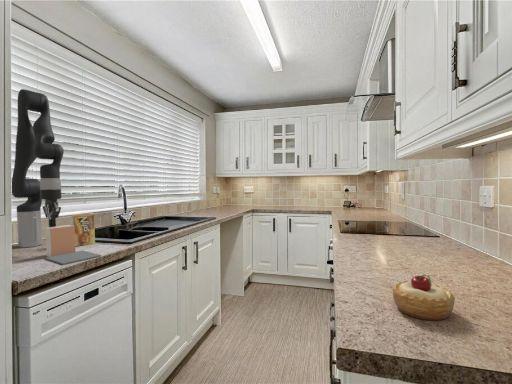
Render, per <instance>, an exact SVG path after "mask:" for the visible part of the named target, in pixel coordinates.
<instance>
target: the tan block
mask: <svg viewBox="0 0 512 384" xmlns="http://www.w3.org/2000/svg"><path fill="white" fill-rule="evenodd" d="M45 243H46V244H45V245H46V257H51V256H56V255H61V254H66V253H71V252H76V246H75V226H73V224H66V225H65V224H64V225H59V226H57V225H56V227H49V226H48V227H45Z"/></svg>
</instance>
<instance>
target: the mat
mask: <svg viewBox="0 0 512 384" xmlns="http://www.w3.org/2000/svg"><path fill="white" fill-rule="evenodd" d="M100 257H102V254H99V253H95V252H90V251H86V250H77V251H76V252H71V253H66V254H61V255H56V256H51V257H48V256H46V257H45V258H44V259H45V260H46V261H50V262H53V263H57V264H58V265H59V264H60V265H62V266H65V265H69V264H73V263H80V262H82V261H87V260H91V259H96V258H100Z"/></svg>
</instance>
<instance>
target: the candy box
mask: <svg viewBox="0 0 512 384" xmlns="http://www.w3.org/2000/svg"><path fill="white" fill-rule="evenodd" d="M72 225H73V226H75V247H79V246H86V245H88V246H89V245H95V244H96V236H95V235H96V234H95V233H96V232H95V213H92V212H91V213H79V214H77V213H76V214H72Z"/></svg>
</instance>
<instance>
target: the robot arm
mask: <svg viewBox="0 0 512 384" xmlns="http://www.w3.org/2000/svg"><path fill="white" fill-rule="evenodd" d="M29 111H30V112H35V113H40V115H39V117H37V119H36V120H35V121H34V123H31V119H30V117H29ZM32 124H33V125H32ZM55 140H56V139H55V135H54V131H53V128H52V122H51V111H50V102H49V98H48V96H46V94H43V93H41V92H36V91H34V90H33V91H32V90H29V89H26V88H22V89H20V90H19V92H18V93H17V128H16V138H15V153H14V154H15V155H14V164H13V165H14V167H13V171H12V172H13V173H12V178H11V182H12V192H11V195H12V196H13V197H14V198H17V199H21V198H22V199H24V198H25V199H26V198H27V200H26V201H25V202H23V203H21V204H19V205H17V206H16V222H17V223H16V224H17V242H18V243H17V246H18V248H30V247H31V248H32V247H37V246H41V245H43V238H42V237H43V234H42V231H43V230H42V215H41V214H42V213H41V212H42V211H43V213H44V216H45V218H47V220H48V227H57V220H56V219H58V218H59V216H60V214H61V209H62V208H61V206H59V201H58V200H61V199H62V183H61V174H60V173H61V172H60V170H61V163H62V160H63V157H64V147H63V146H62V145H61V144H59V143H54V142H55ZM36 159H39V160H53V161H52V162H51V163H48V164H42V165H40V167H39V176H40V179H37V178H27V174H28V171H29V168H30V167H31V166H32V164H33V163H34V162H35V161H36ZM43 200H44V201H45V202H44V205H43V206H42V204H43ZM41 207H42V209H41ZM41 210H42V211H41Z"/></svg>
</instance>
